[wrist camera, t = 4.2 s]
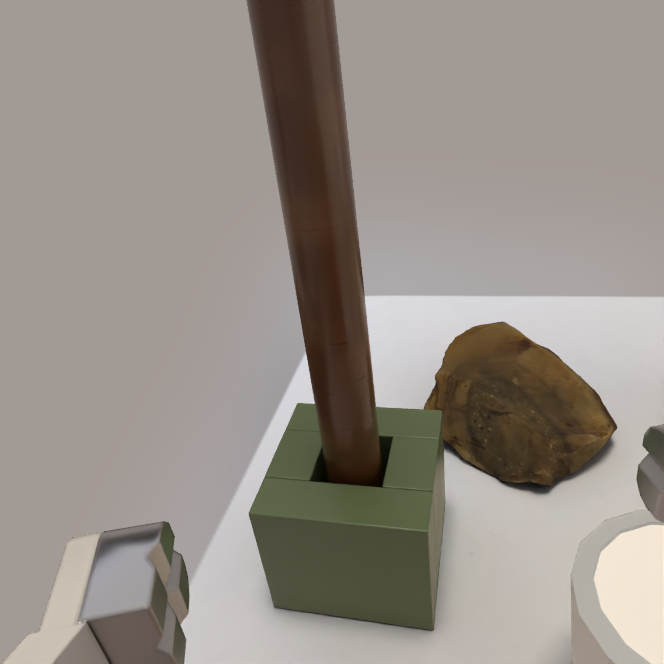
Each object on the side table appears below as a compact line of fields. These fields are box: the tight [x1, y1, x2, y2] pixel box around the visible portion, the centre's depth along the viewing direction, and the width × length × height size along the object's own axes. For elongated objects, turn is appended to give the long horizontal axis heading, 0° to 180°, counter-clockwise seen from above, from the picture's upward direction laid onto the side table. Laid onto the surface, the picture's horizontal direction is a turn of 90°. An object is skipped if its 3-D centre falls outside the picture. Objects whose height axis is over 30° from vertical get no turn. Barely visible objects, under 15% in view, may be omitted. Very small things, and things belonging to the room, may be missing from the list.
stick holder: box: [249, 403, 445, 630], centre depth 27 cm, size 7×7×6 cm
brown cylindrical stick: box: [247, 0, 384, 488], centre depth 22 cm, size 2×2×24 cm
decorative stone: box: [424, 322, 617, 486], centre depth 34 cm, size 10×9×4 cm
